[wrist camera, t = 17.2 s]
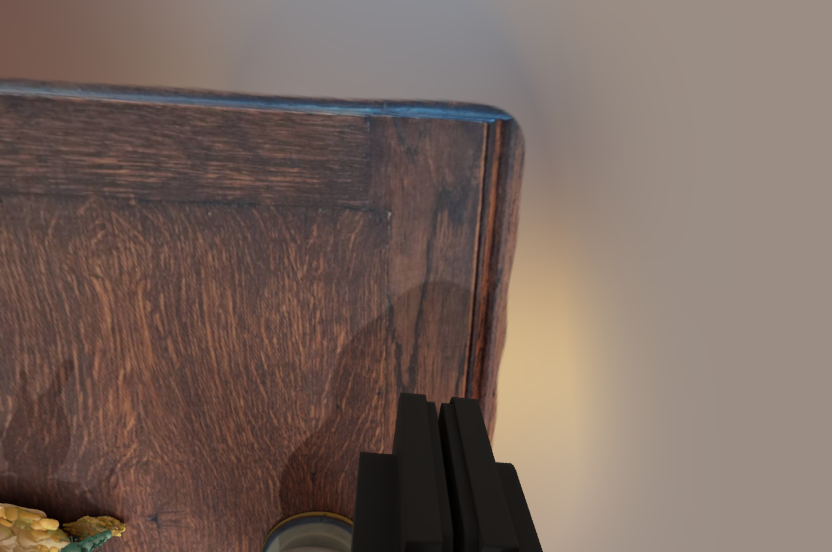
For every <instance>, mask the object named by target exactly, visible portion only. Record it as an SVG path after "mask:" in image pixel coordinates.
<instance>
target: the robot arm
mask: <svg viewBox="0 0 832 552" xmlns="http://www.w3.org/2000/svg"><path fill="white" fill-rule="evenodd" d="M350 552H543V551H542V548H541V545H540V542H539V539H538V536H537V533H536V530H535V527H534V524H533V521H532V518H531V514H530V511H529V509H528V506H527V502H526V499H525V496H524V494H523V491H522V487H521V484H520V482H519V479H518V476H517V472H516V470H515V467H514V466H513V465H512V464H511V463H498V462H495V459H494V456H493V452H492V448H491V445H490V441H489V438H488V434H487V431H486V427H485V424H484V420H483V417H482V413H481V410H480V406H479V403H478V400H477V399H469V398H458V397H452V398H451V400H450V404H449V403H442V404H441V407H440V413H439V419H438V420H437V413H436V406H435V402H427V400H426V395H422V394H411V393H400V397H399V404H398V412H397V420H396V427H395V435H394V442H393V450H392V454H379V453H366V452H360V458H359V468H358V477H357V486H356V496H355V506H354V516H353V527H352V538H351V549H350Z"/></svg>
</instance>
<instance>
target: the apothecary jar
mask: <svg viewBox="0 0 832 552" xmlns="http://www.w3.org/2000/svg"><path fill="white" fill-rule="evenodd" d="M352 527H353V521H351V520H350V519H348V518H346V517H344V516H341V515H338V514H334V513H329V512H306V513H301V514H297V515H294V516H292V517H289V518H287V519H285V520H284V521H282V522H280V523H279V524H278V525H277V526H276V527H275V528H274V529H273V530H272V531H271V532H270V533H269V534H268V536H267V537H266V540H265V542H264V544H263V548H262V552H350V549H351V538H352Z"/></svg>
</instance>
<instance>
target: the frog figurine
mask: <svg viewBox="0 0 832 552" xmlns="http://www.w3.org/2000/svg"><path fill="white" fill-rule="evenodd" d="M46 518H47V515H46V514H45V512H43V511H40V510H35V509H28V508H23V507H19V506H16V505H12V504H6V503H4V504H1V503H0V552H92V551H93V550H94V548H96V547H97V548H98V547H99V545H101V544H102V545H103V543H104V542H105V541H106V540H107V539H109V538H110V537H113V536H121V534H120V532H123V531H125V530H126V525H125V524H122V523H121V522H120V521H119V520H116V519H114V518H113V517H110V516H103V517H89V516H84V517H83V518H80V519H77V520H78V521H77V522H71V523H66V524H63V527H67V528H63V529H64V530H67V531H70V532H71V534H72V535H78V536H80V537H81V538H79V537H78V538H79V540H80V542H73V541H72V543H71V541H70V539H69V538H70V537H68V535H67V533H65V532H63V531H62V530H61V529H59V528H58V526H59V522H58V521H57V520H53V519H46ZM67 537H68V538H67ZM78 538H77V539H78ZM77 539H75V541H77ZM71 540H72V536H71ZM81 540H82V541H81ZM100 549H101V547H99V550H100ZM99 550H98V551H99ZM98 551H97V552H98Z"/></svg>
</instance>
